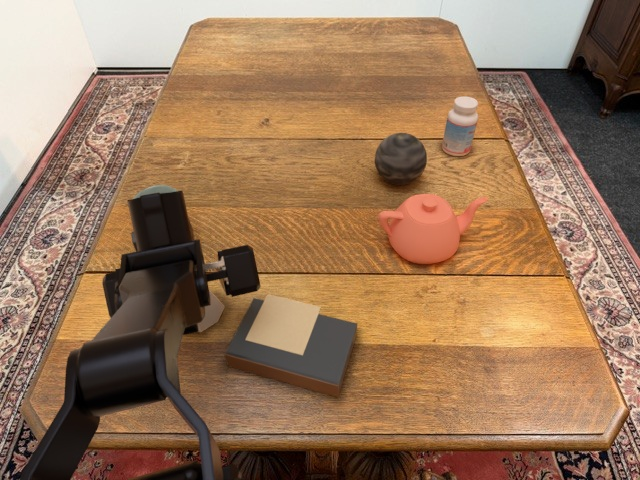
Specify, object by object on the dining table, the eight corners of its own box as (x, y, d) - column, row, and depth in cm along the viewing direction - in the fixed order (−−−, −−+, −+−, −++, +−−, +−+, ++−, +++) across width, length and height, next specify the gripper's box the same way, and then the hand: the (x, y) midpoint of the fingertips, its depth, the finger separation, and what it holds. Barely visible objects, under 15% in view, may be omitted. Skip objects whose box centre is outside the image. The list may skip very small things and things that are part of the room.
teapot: (369, 222, 86) (372, 181, 79) (465, 214, 87) (476, 173, 80) (382, 272, 77) (387, 231, 71) (488, 263, 79) (503, 221, 72)
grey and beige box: (338, 397, 62) (338, 385, 60) (227, 366, 66) (224, 354, 64) (358, 328, 70) (359, 316, 68) (258, 303, 73) (256, 291, 71)
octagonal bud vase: (165, 319, 72) (147, 276, 64) (198, 287, 76) (184, 244, 69) (201, 340, 69) (187, 298, 62) (233, 306, 73) (223, 263, 66)
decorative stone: (426, 169, 97) (434, 127, 90) (418, 199, 90) (426, 156, 83) (378, 161, 99) (382, 119, 92) (367, 190, 93) (371, 147, 85)
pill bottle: (470, 158, 99) (482, 111, 91) (440, 155, 100) (450, 107, 92) (470, 143, 104) (481, 95, 96) (441, 139, 105) (451, 93, 97)
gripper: (245, 201, 55) (242, 211, 70) (75, 233, 51) (111, 236, 67) (264, 295, 55) (257, 284, 70) (97, 333, 52) (128, 313, 67)
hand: (190, 278), depth 68 cm, fingers open, 8 cm apart
